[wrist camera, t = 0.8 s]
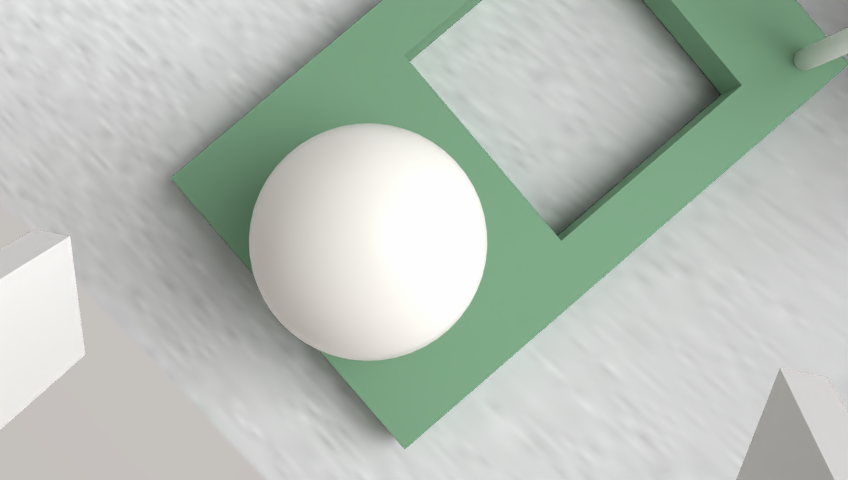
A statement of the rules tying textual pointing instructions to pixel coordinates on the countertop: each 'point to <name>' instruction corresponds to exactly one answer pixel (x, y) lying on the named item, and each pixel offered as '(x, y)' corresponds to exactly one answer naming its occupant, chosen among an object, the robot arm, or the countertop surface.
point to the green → (501, 201)
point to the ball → (368, 242)
